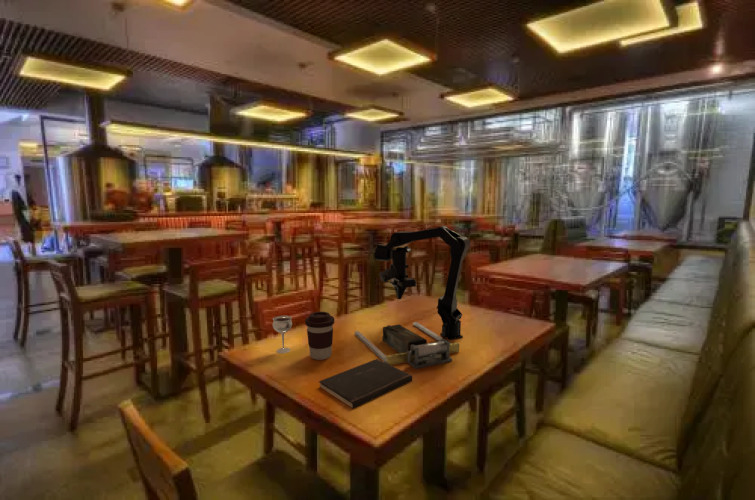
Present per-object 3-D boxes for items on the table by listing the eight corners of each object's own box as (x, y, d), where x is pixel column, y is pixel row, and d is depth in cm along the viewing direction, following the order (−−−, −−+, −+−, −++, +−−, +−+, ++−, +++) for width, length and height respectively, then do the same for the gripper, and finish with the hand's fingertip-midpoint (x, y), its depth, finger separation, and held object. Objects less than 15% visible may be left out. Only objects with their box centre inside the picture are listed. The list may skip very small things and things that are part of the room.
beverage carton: (399, 338, 154) (400, 321, 153) (427, 356, 137) (428, 338, 136) (381, 341, 150) (381, 325, 149) (408, 361, 134) (408, 342, 133)
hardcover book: (318, 388, 116) (318, 381, 116) (377, 365, 131) (376, 358, 131) (352, 410, 104) (352, 402, 104) (412, 382, 119) (412, 375, 119)
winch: (443, 355, 137) (443, 337, 136) (451, 361, 133) (452, 342, 132) (403, 363, 131) (403, 345, 130) (410, 369, 126) (411, 350, 125)
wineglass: (269, 352, 140) (268, 320, 138) (280, 345, 146) (279, 314, 144) (286, 355, 138) (285, 322, 136) (296, 348, 144) (295, 316, 142)
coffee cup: (339, 352, 140) (339, 311, 138) (327, 363, 131) (326, 320, 129) (314, 348, 143) (313, 308, 141) (301, 359, 134) (299, 317, 132)
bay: (416, 324, 169) (416, 317, 168) (459, 351, 140) (459, 343, 140) (354, 334, 158) (354, 327, 157) (387, 365, 129) (387, 357, 129)
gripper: (372, 260, 167) (372, 295, 169) (391, 267, 150) (391, 307, 152) (396, 258, 171) (395, 293, 174) (417, 265, 154) (416, 304, 157)
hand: (399, 299), depth 164 cm, fingers closed
